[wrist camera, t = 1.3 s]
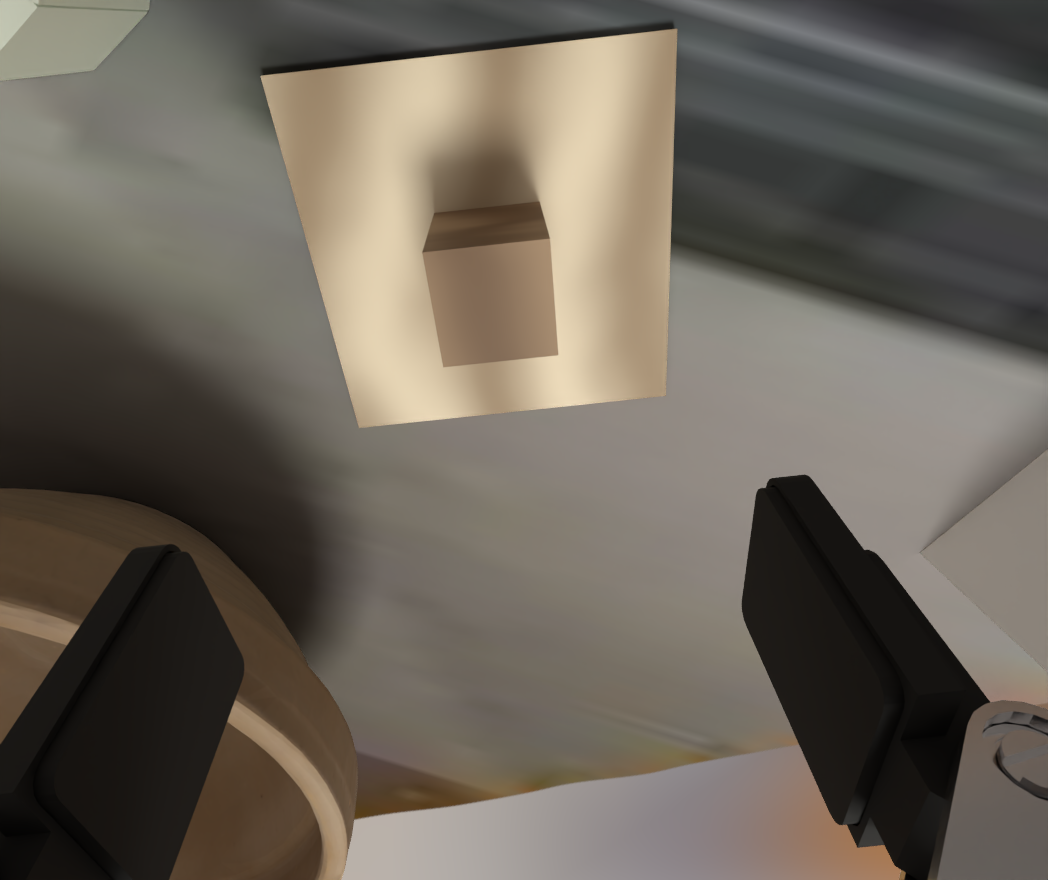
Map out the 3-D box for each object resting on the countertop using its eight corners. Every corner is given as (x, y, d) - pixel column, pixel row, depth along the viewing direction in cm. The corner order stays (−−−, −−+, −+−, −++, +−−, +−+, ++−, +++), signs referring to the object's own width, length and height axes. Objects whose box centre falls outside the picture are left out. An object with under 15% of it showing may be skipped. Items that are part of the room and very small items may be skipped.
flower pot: (281, 300, 26) (128, 502, 15) (441, 712, 41) (424, 961, 30) (-357, 411, 27) (-929, 672, 16) (28, 770, 43) (-132, 1028, 32)
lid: (669, 28, 22) (723, 29, 17) (660, 385, 30) (695, 458, 25) (269, 74, 22) (204, 88, 17) (362, 416, 30) (336, 495, 25)
